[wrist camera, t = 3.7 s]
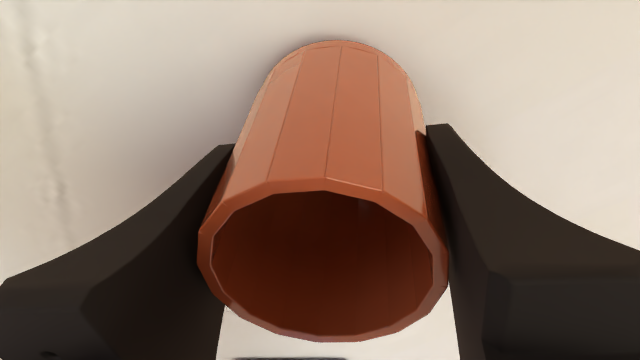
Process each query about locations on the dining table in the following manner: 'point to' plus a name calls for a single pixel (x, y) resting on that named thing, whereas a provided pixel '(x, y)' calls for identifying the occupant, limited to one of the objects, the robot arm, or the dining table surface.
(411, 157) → the cup
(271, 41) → the dining table surface
